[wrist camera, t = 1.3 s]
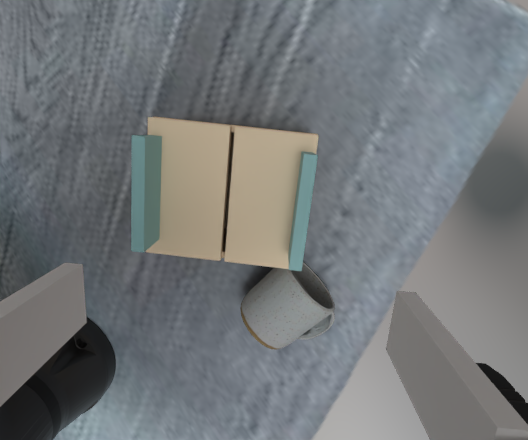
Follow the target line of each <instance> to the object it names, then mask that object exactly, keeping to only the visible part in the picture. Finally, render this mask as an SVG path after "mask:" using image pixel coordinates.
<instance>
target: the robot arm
mask: <svg viewBox="0 0 528 440" xmlns="http://www.w3.org/2000/svg"><path fill="white" fill-rule="evenodd" d="M386 350H387V352H388V354H389V356H390V358H391V361H392V363H393V365H394V367H395V369H396V371H397V373H398V375H399V377H400V379H401V381H402V383H403V385H404V387H405V389H406V391H407V393H408V395H409V398H410V400H411V401H412V403H413V406H414V408H415V410H416V412H417V414H418V416H419V418H420V420H421V422H422V424H423V426H424V428H425V430H426V432H427V434H428V437H429V439H430V440H528V403H526V402H525V400H524V398H523V397H522V396H521V395H520V394H519V393H518V392H515V389H514V388H513V386H512V385H511V384H510V383H509V382H508V381H507V380H506V379H505V378H504V377H503V376H502V375H501V374H499V373H498V372H497V371H495V370H494V369H492V368H491V367H490V366H488V365H486V364H482V363H475V362H474V361H473V359H472V358H471V357H470V356H469V355H468V354H467V352H466V351H465V350H464V349H463V348H462V346H461V345H460V344H459V343H458V342H457V341H456V339H455V338H454V337H453V336H452V335H451V334H450V332H449V331H448V330H447V329H446V328H445V326H444V325H443V324H442V323H441V322H440V321H439V319H438V318H437V317H436V316H435V315H434V313H433V312H432V311H431V310H430V309H429V308H428V306H427V305H426V304H425V303H424V302H423V301H422V299H421V298H420V297H419V296H418V295H417V293H416V292H405V291H397V292H396V298H395V303H394V309H393V314H392V319H391V325H390V330H389V336H388V341H387V347H386ZM114 373H115V358H114V353H113V350H112V348H111V345H110V343H109V341H108V340H107V338H106V337H105V335H104V334H103V333H102V331H101V330H100V329H99V328H98V327H97V326H96V325H95V324H94V323H92V322H91V321H90V320H88V319H87V318H86V305H85V291H84V277H83V264H74V263H64V264H62V265H60V266H59V267H57V268H55V269H54V270H52V271H50V272H49V273H47V274H45V275H44V276H42V277H40V278H39V279H37V280H35V281H34V282H32V283H30V284H29V285H27V286H25V287H23V288H22V289H20V290H18V291H17V292H15V293H13V294H12V295H10V296H8V297H7V298H5V299H3V300H2V301H0V440H53V439H54V437H55V436H56V435H57V434H58V432H60V431H61V430H62V429H63V428H65V427H66V426H67V425H69V424H70V423H71V422H72V421H74V420H75V419H76V418H77V417H79V416H80V415H81V414H83V413H85V412H86V411H88V410H89V409H91V408H92V407H93V406H94V405H95V404H96V403H97V402H98V401H99V400H100V399H101V397H102V396H103V395H104V393H105V392H106V390H107V389H108V387H109V386H110V384H111V382H112V380H113V377H114Z"/></svg>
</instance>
